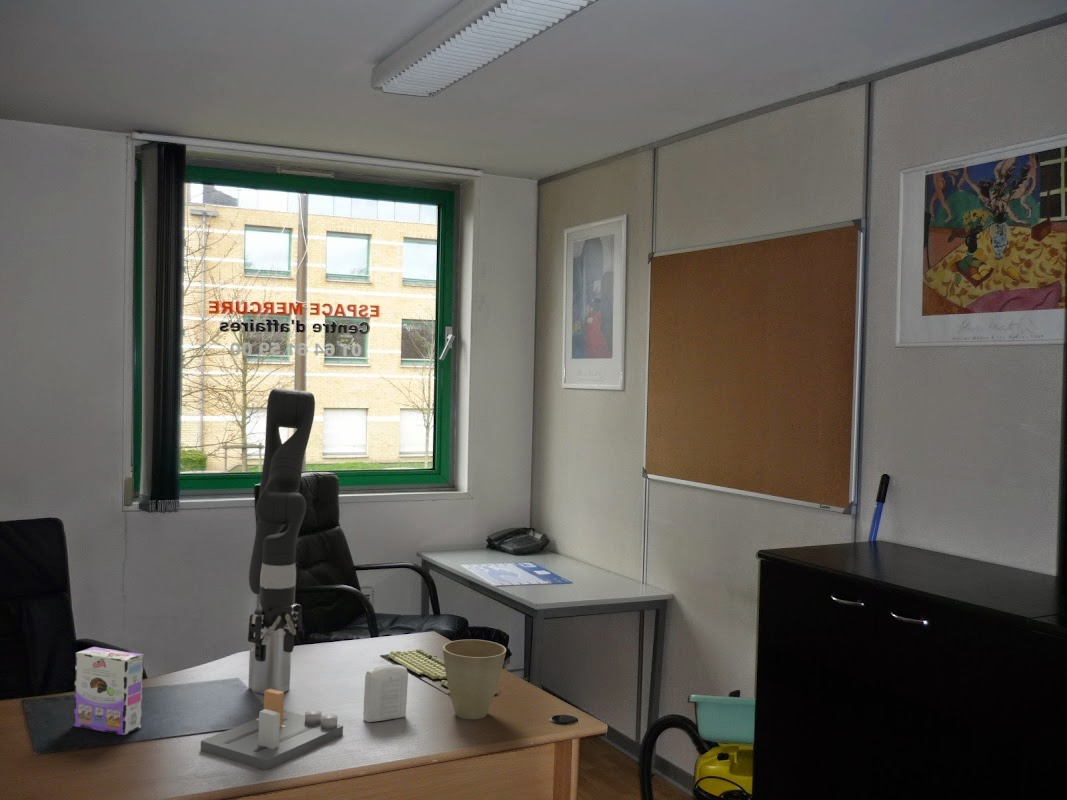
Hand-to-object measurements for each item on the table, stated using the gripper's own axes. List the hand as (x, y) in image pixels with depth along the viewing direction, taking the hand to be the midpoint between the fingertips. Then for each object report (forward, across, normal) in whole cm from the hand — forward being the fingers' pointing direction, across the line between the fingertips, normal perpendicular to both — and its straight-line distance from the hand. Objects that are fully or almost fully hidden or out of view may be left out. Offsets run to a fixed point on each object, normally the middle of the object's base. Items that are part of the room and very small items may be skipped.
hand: (274, 656), depth 224 cm
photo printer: (+17, -22, +14) cm, 31 cm away
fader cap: (+15, 0, 0) cm, 15 cm away
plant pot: (+17, -36, +29) cm, 50 cm away
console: (+17, +4, +4) cm, 18 cm away
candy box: (+18, +18, -30) cm, 40 cm away
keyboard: (+18, -58, +6) cm, 61 cm away
